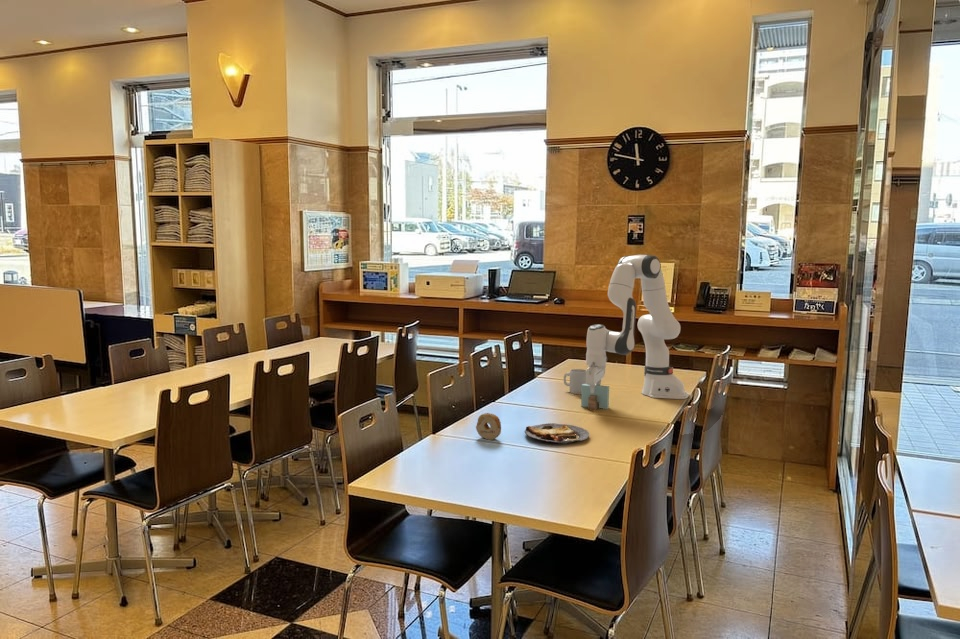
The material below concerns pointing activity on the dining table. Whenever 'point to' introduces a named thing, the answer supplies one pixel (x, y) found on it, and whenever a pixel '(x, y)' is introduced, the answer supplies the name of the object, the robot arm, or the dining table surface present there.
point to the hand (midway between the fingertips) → (595, 390)
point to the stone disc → (484, 429)
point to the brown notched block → (592, 402)
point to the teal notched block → (600, 392)
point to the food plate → (556, 432)
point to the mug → (576, 380)
